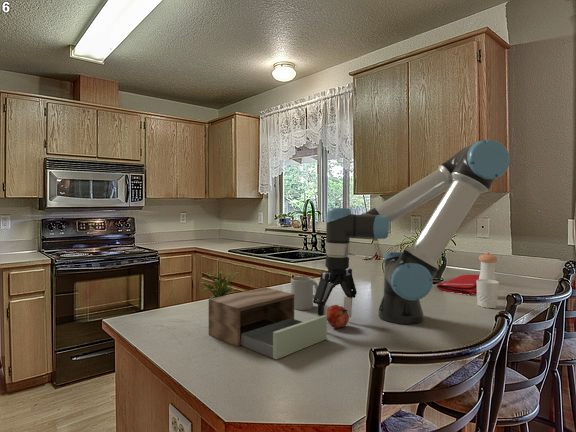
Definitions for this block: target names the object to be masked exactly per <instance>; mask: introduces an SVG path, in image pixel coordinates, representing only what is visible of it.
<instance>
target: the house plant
mask: <svg viewBox="0 0 576 432" xmlns="http://www.w3.org/2000/svg"><path fill="white" fill-rule="evenodd" d="M210 273H212V274H213V272H212V271H210ZM232 273H233V271H232V272H229V273H227V274H224V276H223V272H222V270H220V271H219V274H218V275H219V276H218V277H217V276H216V275H215V274H213V275H211V274H208V273H203V274H204V275H206V276H207V277H206V279H207V280H209V279H208V278H211V280H212V284H213V285H211V284H210V283H207V282H203V281H199V283H200V284H202V285H203V286H205V287H206V288H205V287H204V288H203V289H202V291H204V290H209V291H211V293H212V294H213V295H214V296H213V295H212V296H211V297H210V298H209V299H211V298H216V297H221V296H226V295H228V293H229V292H232V291H234V290H235V289H234V288H235V286H233V285H230V284H231V281H233V280H234V279H235V277H234V276H235V275H236V274H238V273H239V271H238V272H237V271H236V272H234V273H233V274H232ZM230 274H231V275H230ZM228 275H230V276H229V278H228V279H227V277H228ZM202 277H204V278H205V276H202Z"/></svg>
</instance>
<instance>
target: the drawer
mask: <svg viewBox="0 0 576 432" xmlns="http://www.w3.org/2000/svg"><path fill="white" fill-rule="evenodd" d="M327 329H328V321H327V316H325V315H323V316H320V317H318V316H317V317H314V318H312V319H308V320H305V321H303V320H302V321H301V320H298V319H295V318H294V319H290V318H289V319H286V320H283V321H280V322H276V323H274V322H272V323H270V324H267V325H264V326H261V327H257V328H255V329H251V330H248V331H245V332H240V346H243V347H245V348H247V349H250V350H252V351H254V352H257V353H260V354H262V355H264V356H267V357H269V358H272V359H273V360H279V359H281V358H283V357H286V356H287V355H288V356H289V355H291V354H292V353H296V352H298V351H301V350H304V349H305V348H308V347H310V346H313V345H315V344H317V343H320V342H322V341H325V340H327V339H328V337H327V335H328V330H327Z"/></svg>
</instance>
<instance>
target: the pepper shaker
mask: <svg viewBox="0 0 576 432" xmlns="http://www.w3.org/2000/svg"><path fill="white" fill-rule="evenodd" d="M478 260H479V262H480V272H479V275H480V276H479V279H488V280H495V281H497V280H496V279H497V278H496V272H495V271H496V263H497V261H498V258H497V256H496V255H493V254H491V253H490V252H486V253H483V254H480V255H479V257H478Z"/></svg>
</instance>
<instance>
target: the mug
mask: <svg viewBox="0 0 576 432" xmlns="http://www.w3.org/2000/svg"><path fill="white" fill-rule="evenodd" d="M318 285H319V283H317V281H315V280H314V279H313V278H312V277H309V276H294V277H291V278H290V293H291V294H294V310H295V311H308V310H311V309H313V308H314V303H313V300H314V297H315V294H316V291H317V288H318Z"/></svg>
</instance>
